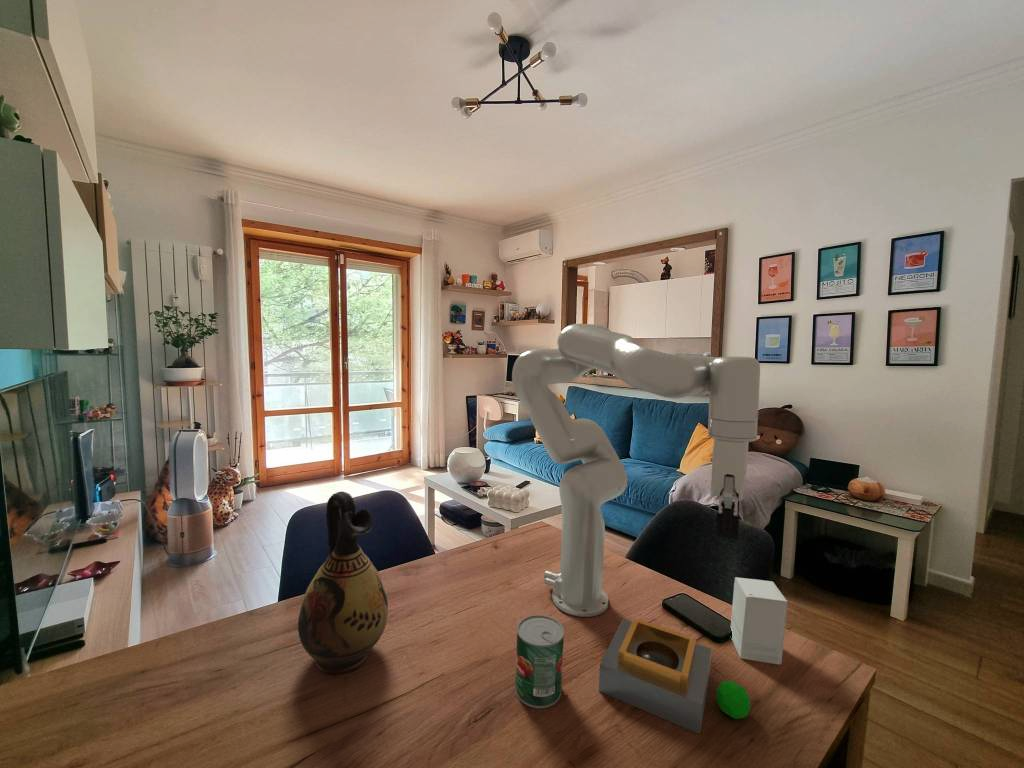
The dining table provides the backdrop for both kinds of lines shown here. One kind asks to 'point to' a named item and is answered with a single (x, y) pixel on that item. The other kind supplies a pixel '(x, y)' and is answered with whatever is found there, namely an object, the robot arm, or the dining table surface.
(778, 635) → the supplement box
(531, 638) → the canned tomato
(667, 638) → the grey yellow socket base
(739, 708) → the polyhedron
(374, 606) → the ceramic jug
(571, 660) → the dining table surface
